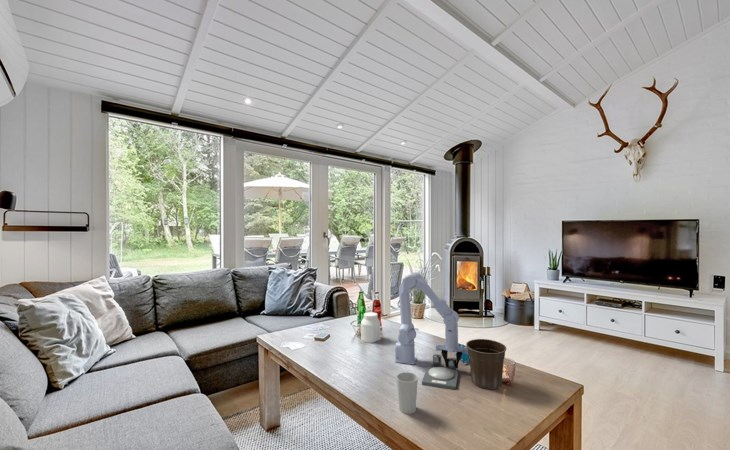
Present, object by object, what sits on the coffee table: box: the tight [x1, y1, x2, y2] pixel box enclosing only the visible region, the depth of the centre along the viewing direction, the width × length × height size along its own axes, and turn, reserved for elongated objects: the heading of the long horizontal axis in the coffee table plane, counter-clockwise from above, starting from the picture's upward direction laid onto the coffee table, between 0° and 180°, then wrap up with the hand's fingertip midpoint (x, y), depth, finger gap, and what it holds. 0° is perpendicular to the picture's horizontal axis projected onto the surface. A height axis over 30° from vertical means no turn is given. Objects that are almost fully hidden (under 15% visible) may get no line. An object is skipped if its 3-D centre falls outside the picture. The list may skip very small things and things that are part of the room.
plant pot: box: [465, 338, 507, 390], centre depth 143 cm, size 16×16×16 cm
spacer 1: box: [432, 353, 443, 367], centre depth 160 cm, size 4×4×5 cm
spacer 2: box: [447, 357, 457, 370], centre depth 155 cm, size 4×4×5 cm
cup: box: [396, 371, 419, 415], centre depth 124 cm, size 8×8×12 cm
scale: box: [421, 365, 459, 390], centre depth 147 cm, size 14×16×2 cm
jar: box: [360, 311, 382, 344], centre depth 197 cm, size 12×10×15 cm
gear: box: [454, 343, 470, 365], centre depth 166 cm, size 11×6×10 cm
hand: (451, 367), depth 155 cm, fingers closed on spacer 2, 4 cm apart
